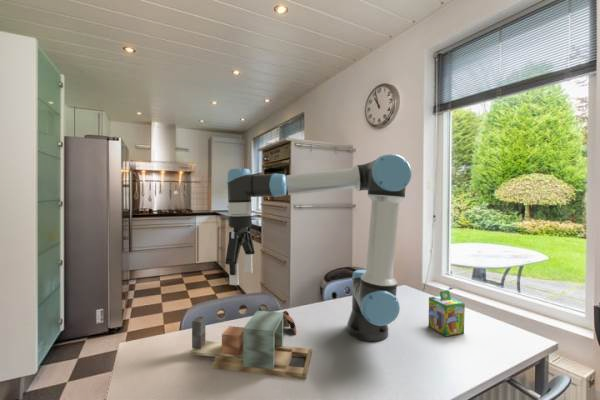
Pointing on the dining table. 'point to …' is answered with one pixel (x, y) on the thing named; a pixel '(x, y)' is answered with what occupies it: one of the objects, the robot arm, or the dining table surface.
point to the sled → (227, 347)
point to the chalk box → (446, 314)
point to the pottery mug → (288, 321)
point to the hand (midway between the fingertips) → (241, 278)
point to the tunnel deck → (267, 350)
